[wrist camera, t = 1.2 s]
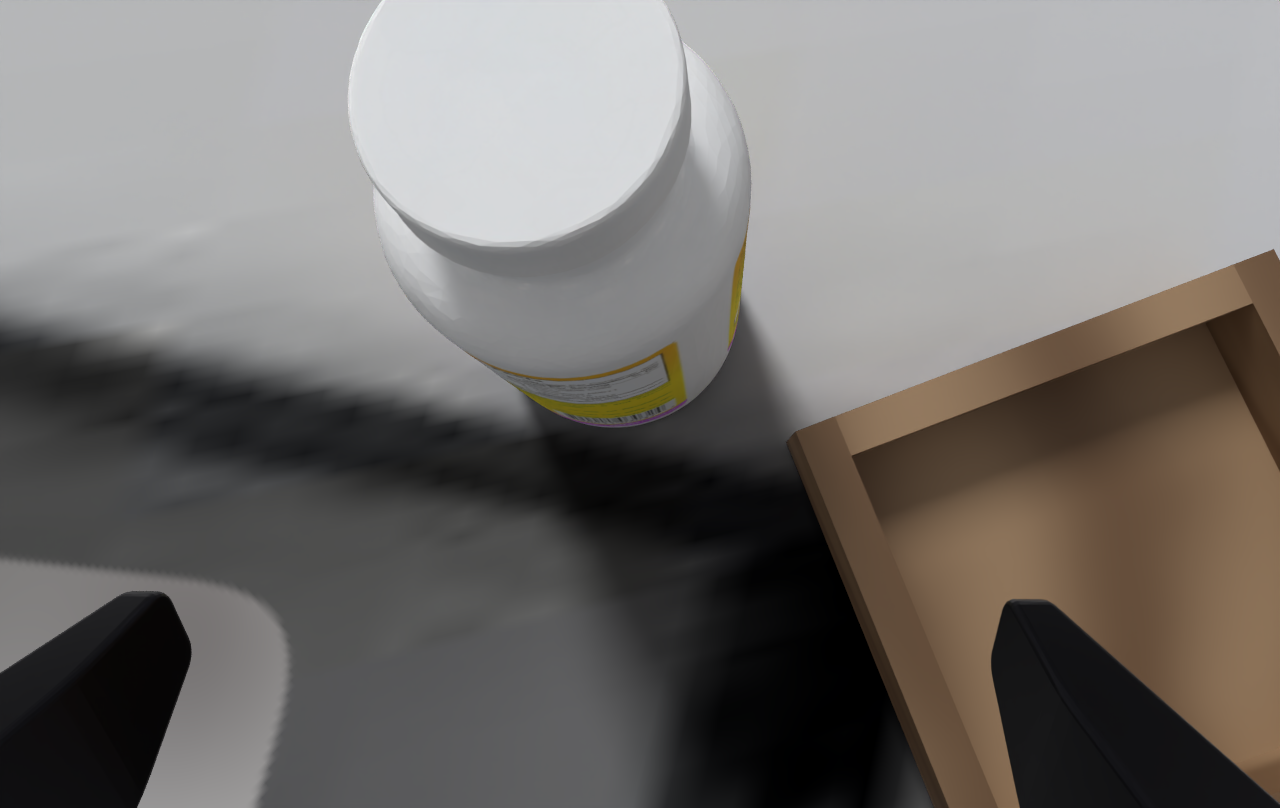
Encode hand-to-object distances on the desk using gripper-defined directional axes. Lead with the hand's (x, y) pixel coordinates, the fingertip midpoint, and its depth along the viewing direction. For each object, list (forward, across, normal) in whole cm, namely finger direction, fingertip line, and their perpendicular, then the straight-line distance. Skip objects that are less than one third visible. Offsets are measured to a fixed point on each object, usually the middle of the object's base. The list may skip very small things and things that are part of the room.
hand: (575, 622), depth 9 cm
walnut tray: (+10, -11, +9) cm, 18 cm away
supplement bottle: (+15, +1, +4) cm, 16 cm away
